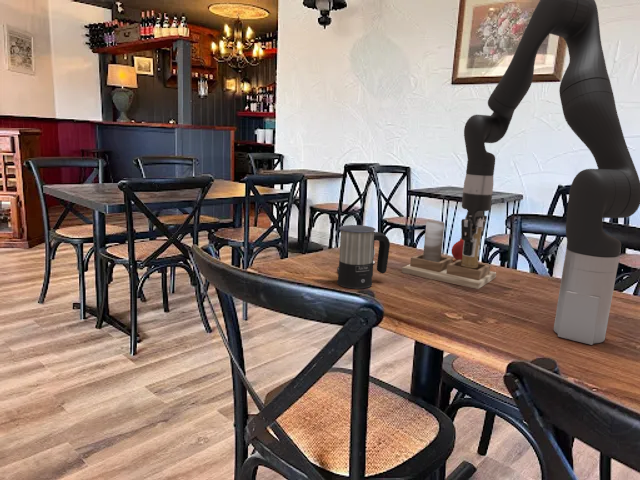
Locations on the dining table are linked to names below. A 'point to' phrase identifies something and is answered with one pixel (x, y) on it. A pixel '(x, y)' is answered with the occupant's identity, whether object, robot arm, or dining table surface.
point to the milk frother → (360, 255)
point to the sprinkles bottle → (473, 251)
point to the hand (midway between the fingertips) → (470, 253)
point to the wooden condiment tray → (445, 263)
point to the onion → (458, 249)
